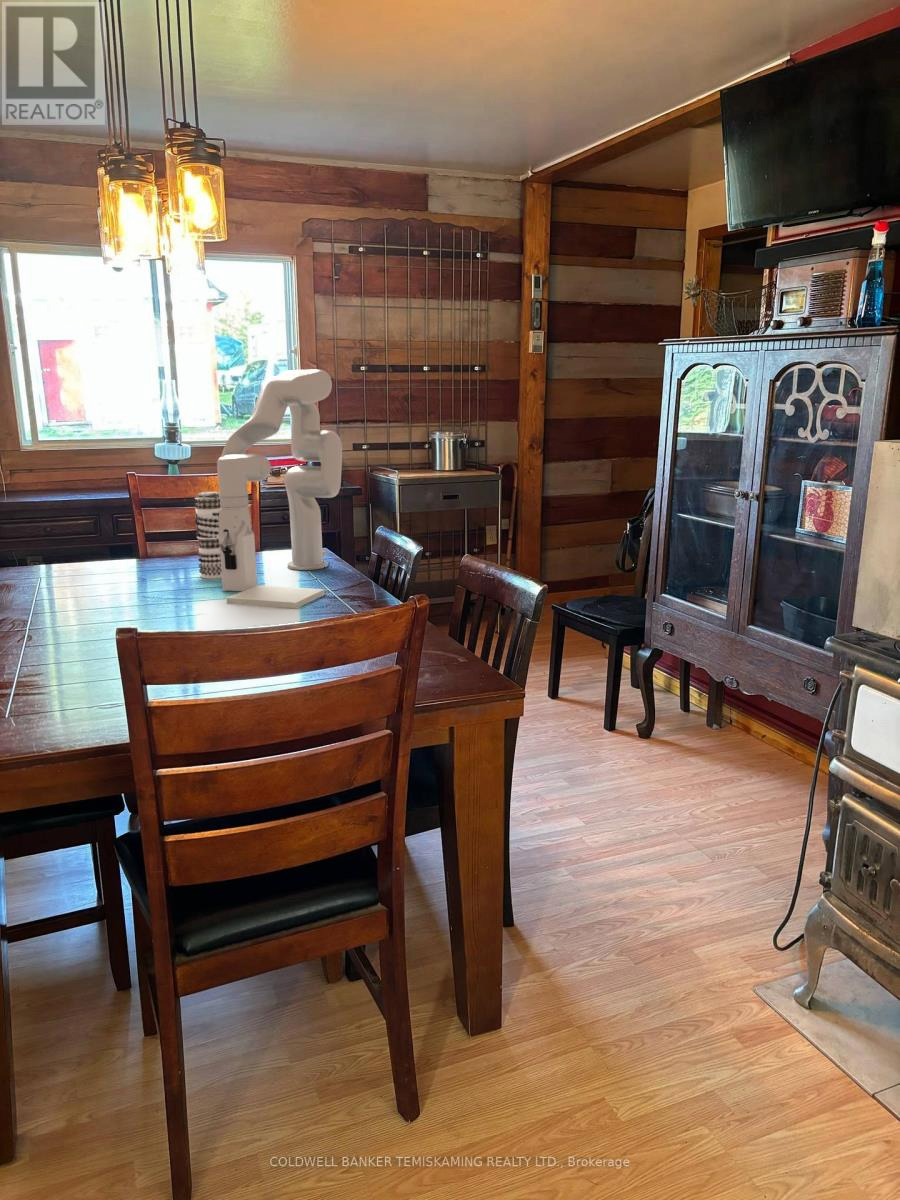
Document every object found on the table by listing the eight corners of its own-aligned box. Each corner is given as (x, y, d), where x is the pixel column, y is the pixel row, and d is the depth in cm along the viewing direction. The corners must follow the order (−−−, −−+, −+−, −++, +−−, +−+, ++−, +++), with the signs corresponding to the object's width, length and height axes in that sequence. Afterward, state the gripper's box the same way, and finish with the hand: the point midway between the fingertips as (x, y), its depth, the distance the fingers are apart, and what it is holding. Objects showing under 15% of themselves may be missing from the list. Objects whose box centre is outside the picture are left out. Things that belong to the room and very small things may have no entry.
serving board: (258, 590, 226) (258, 585, 226) (324, 594, 220) (324, 589, 220) (226, 603, 211) (226, 597, 211) (296, 608, 205) (295, 602, 205)
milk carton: (246, 591, 224) (241, 522, 220) (222, 590, 226) (217, 522, 221) (257, 586, 231) (253, 519, 226) (234, 585, 232) (229, 518, 228)
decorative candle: (229, 571, 253) (223, 490, 247) (231, 577, 244) (225, 493, 239) (198, 573, 250) (191, 491, 244) (199, 579, 242) (192, 494, 236)
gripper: (239, 498, 232) (244, 559, 236) (203, 506, 216) (209, 572, 220) (262, 499, 230) (267, 561, 234) (228, 506, 214) (233, 573, 218)
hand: (239, 565), depth 227 cm, fingers closed on milk carton, 7 cm apart
